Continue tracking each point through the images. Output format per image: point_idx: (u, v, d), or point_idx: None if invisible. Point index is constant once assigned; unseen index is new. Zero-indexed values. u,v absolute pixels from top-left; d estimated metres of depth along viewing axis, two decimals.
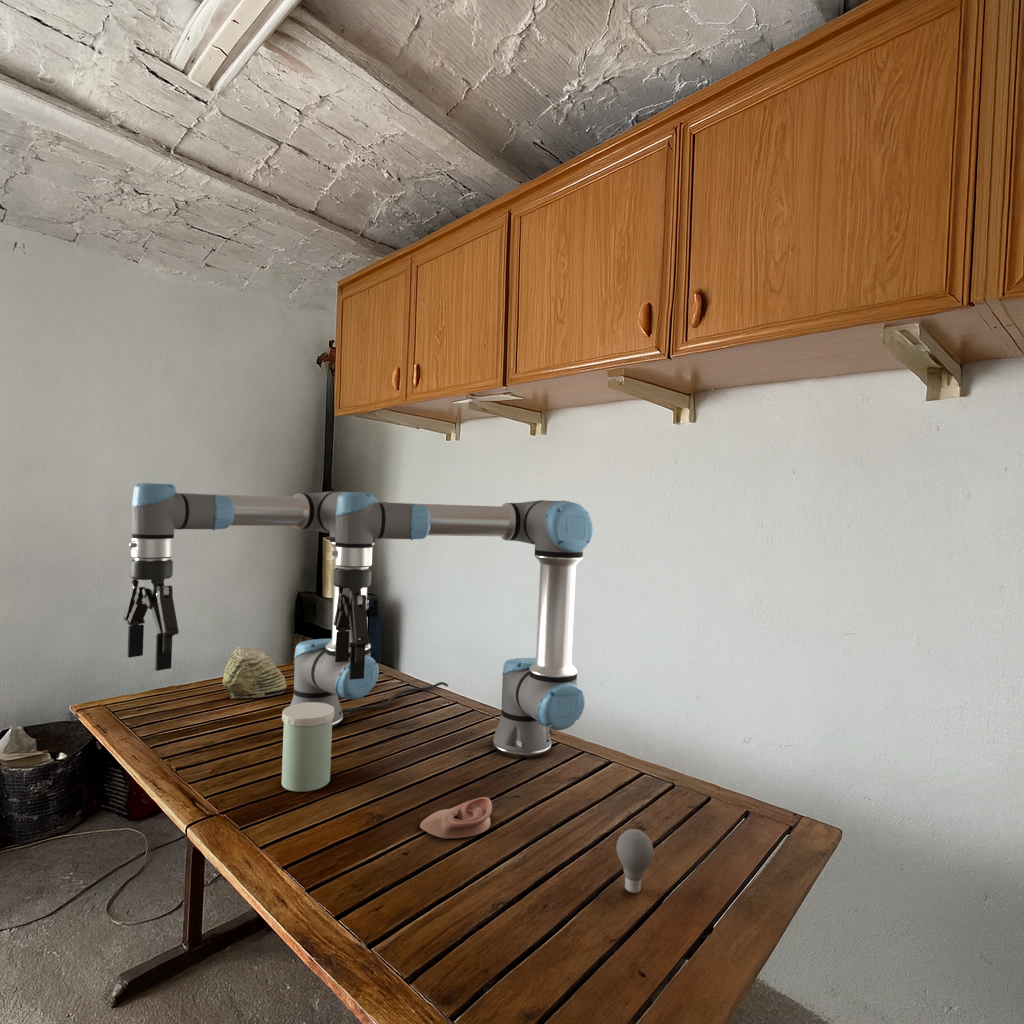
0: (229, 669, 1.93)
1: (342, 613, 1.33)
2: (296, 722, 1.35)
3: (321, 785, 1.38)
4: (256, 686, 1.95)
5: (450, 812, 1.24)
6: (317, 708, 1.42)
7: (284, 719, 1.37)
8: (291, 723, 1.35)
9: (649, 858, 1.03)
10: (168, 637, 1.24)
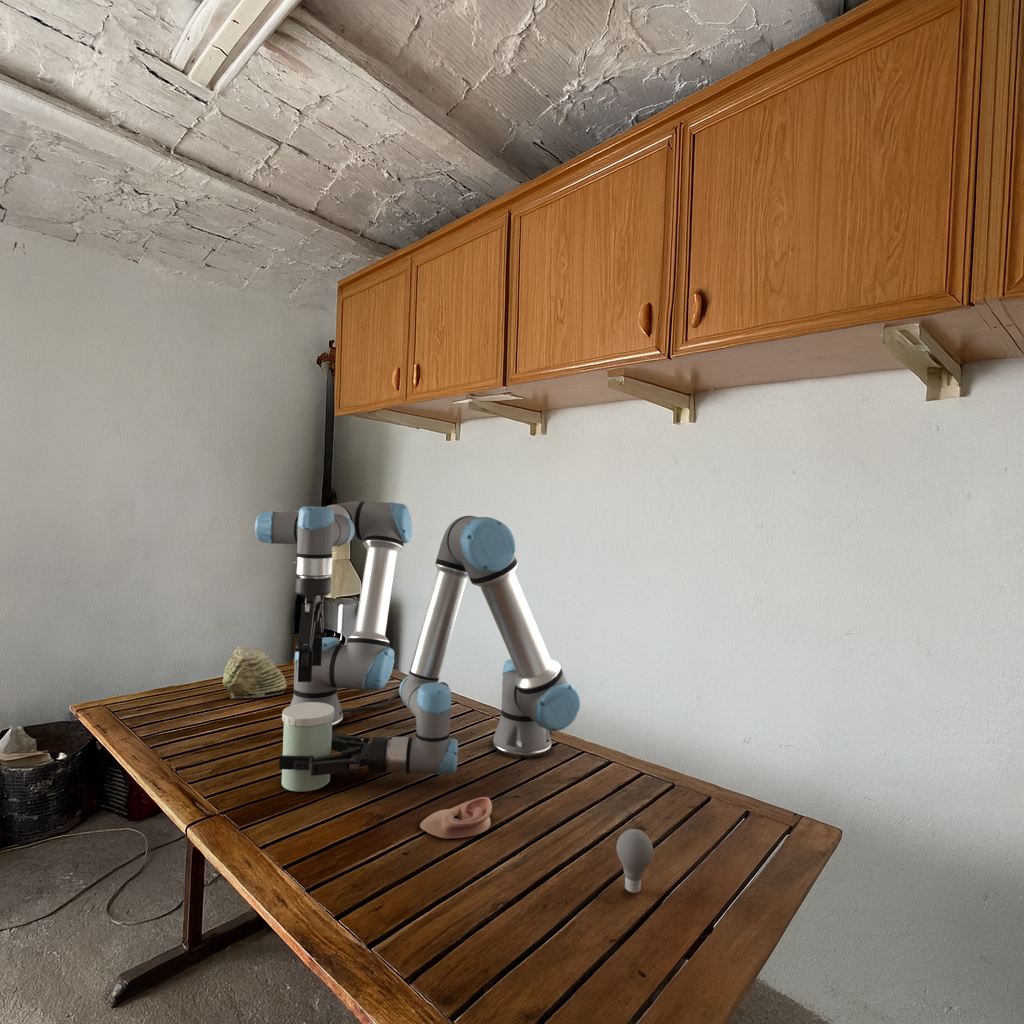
0: (229, 669, 1.93)
1: None
2: (296, 722, 1.35)
3: (321, 785, 1.38)
4: (256, 686, 1.95)
5: (450, 812, 1.24)
6: (317, 708, 1.42)
7: (284, 719, 1.37)
8: (291, 723, 1.35)
9: (649, 858, 1.03)
10: (304, 652, 1.32)
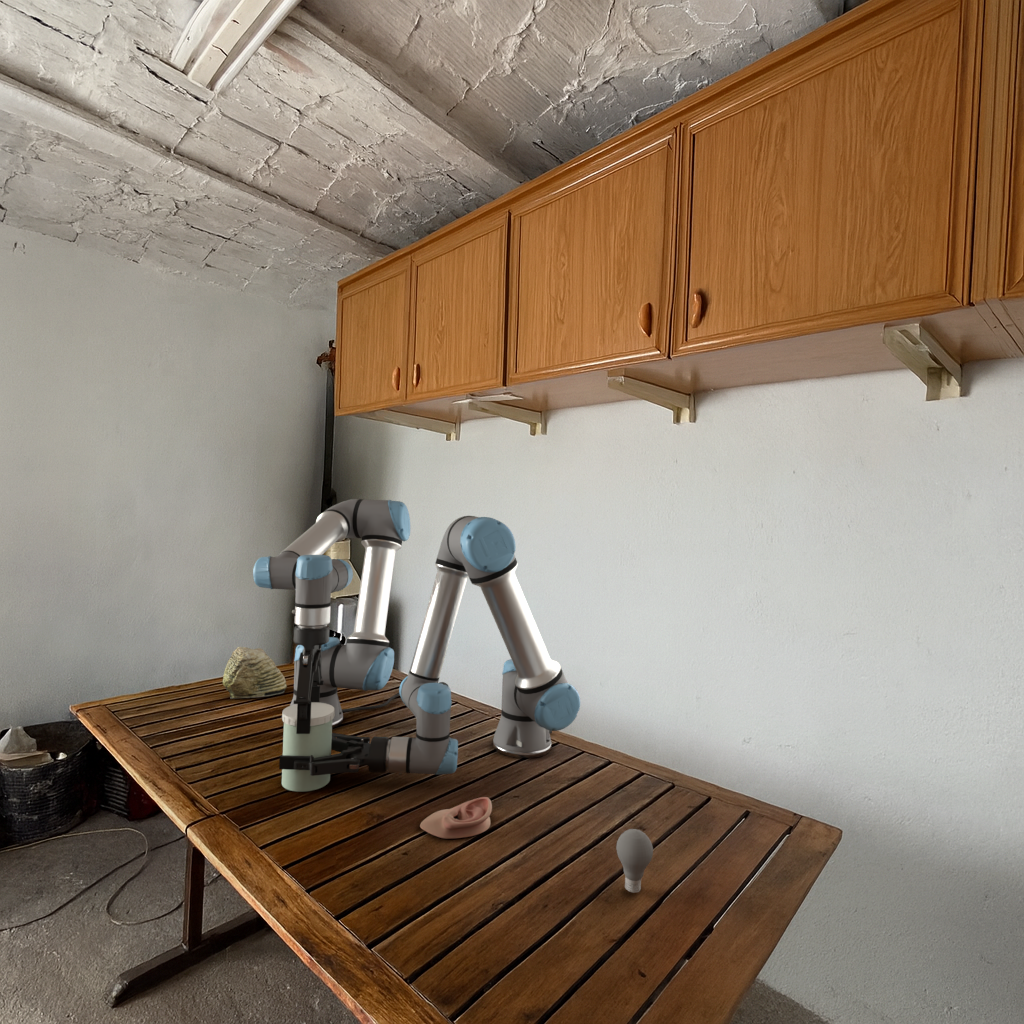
0: (229, 669, 1.93)
1: None
2: (296, 722, 1.35)
3: (321, 785, 1.38)
4: (256, 686, 1.95)
5: (450, 812, 1.24)
6: (317, 708, 1.42)
7: (284, 719, 1.37)
8: (291, 723, 1.35)
9: (649, 858, 1.03)
10: (303, 705, 1.33)
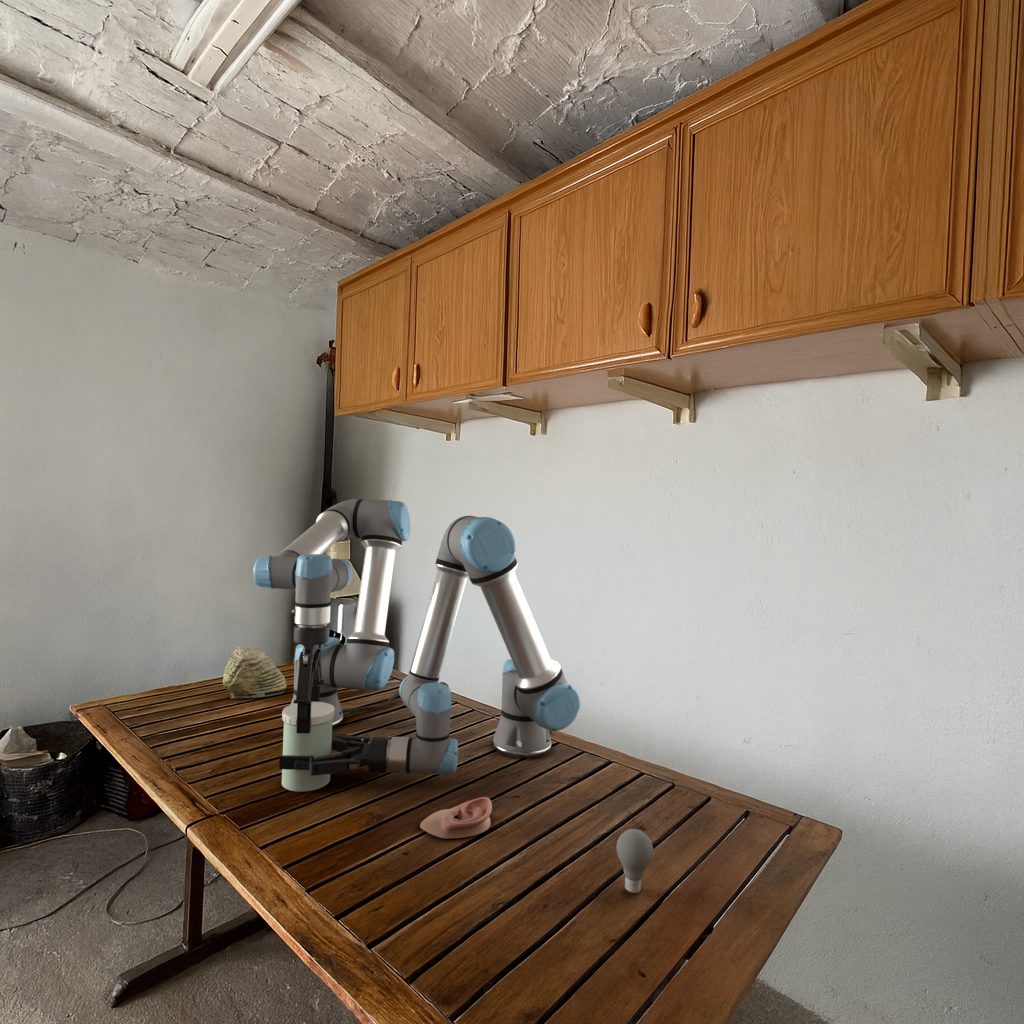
0: (229, 669, 1.93)
1: None
2: (332, 715, 1.40)
3: (321, 785, 1.38)
4: (256, 686, 1.95)
5: (450, 812, 1.24)
6: None
7: (319, 720, 1.36)
8: (328, 719, 1.38)
9: (649, 858, 1.03)
10: (303, 704, 1.33)
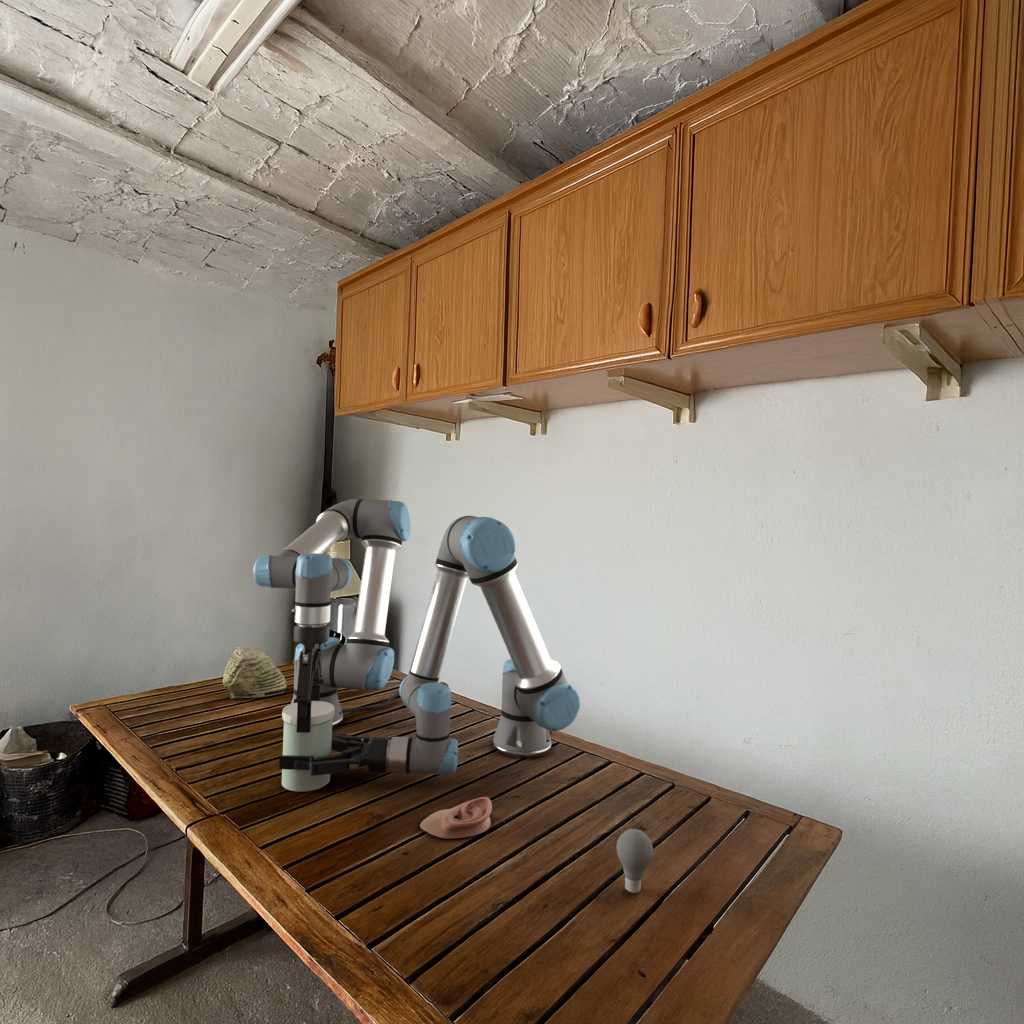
0: (229, 669, 1.93)
1: None
2: None
3: (321, 785, 1.38)
4: (256, 686, 1.95)
5: (450, 812, 1.24)
6: None
7: None
8: None
9: (649, 858, 1.03)
10: (303, 703, 1.33)
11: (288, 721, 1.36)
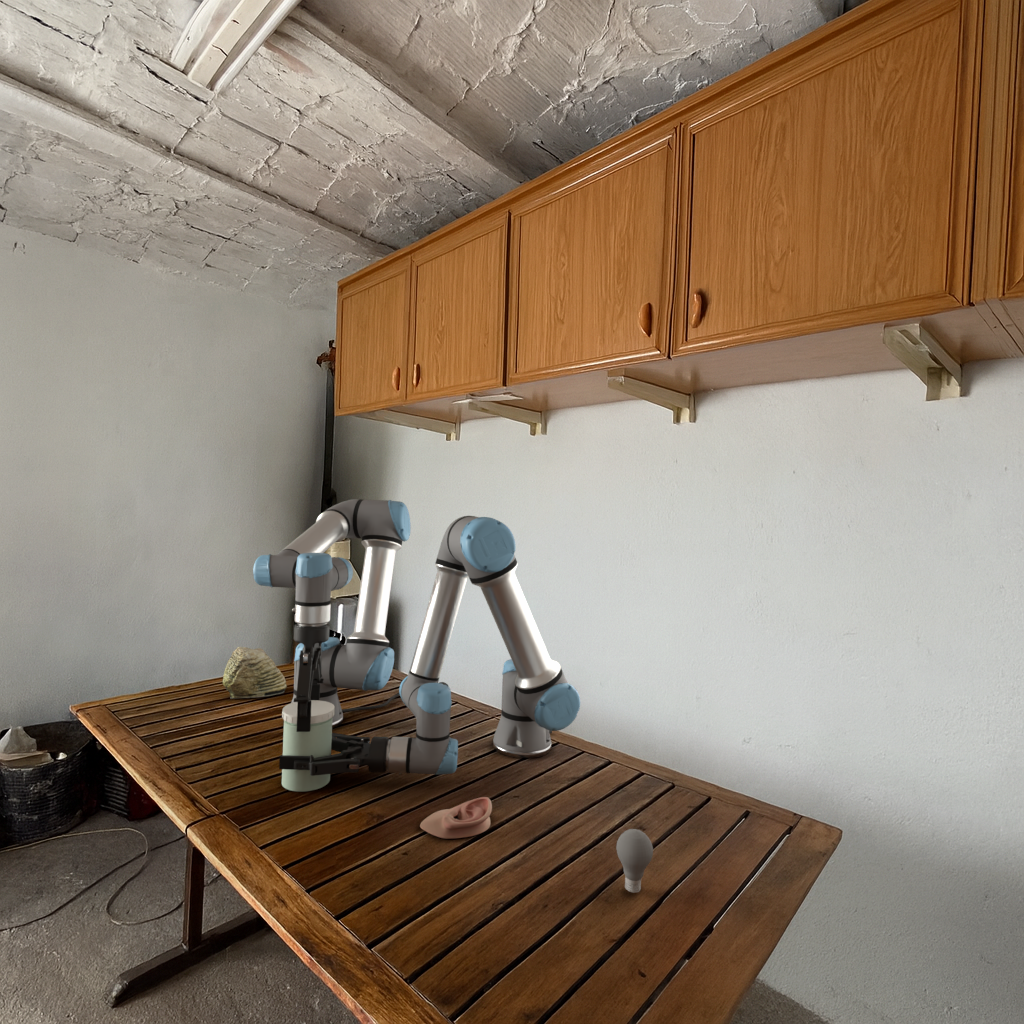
0: (229, 669, 1.93)
1: None
2: None
3: (321, 785, 1.38)
4: (256, 686, 1.95)
5: (450, 812, 1.24)
6: (312, 710, 1.39)
7: None
8: None
9: (649, 858, 1.03)
10: (303, 703, 1.33)
11: (325, 719, 1.38)
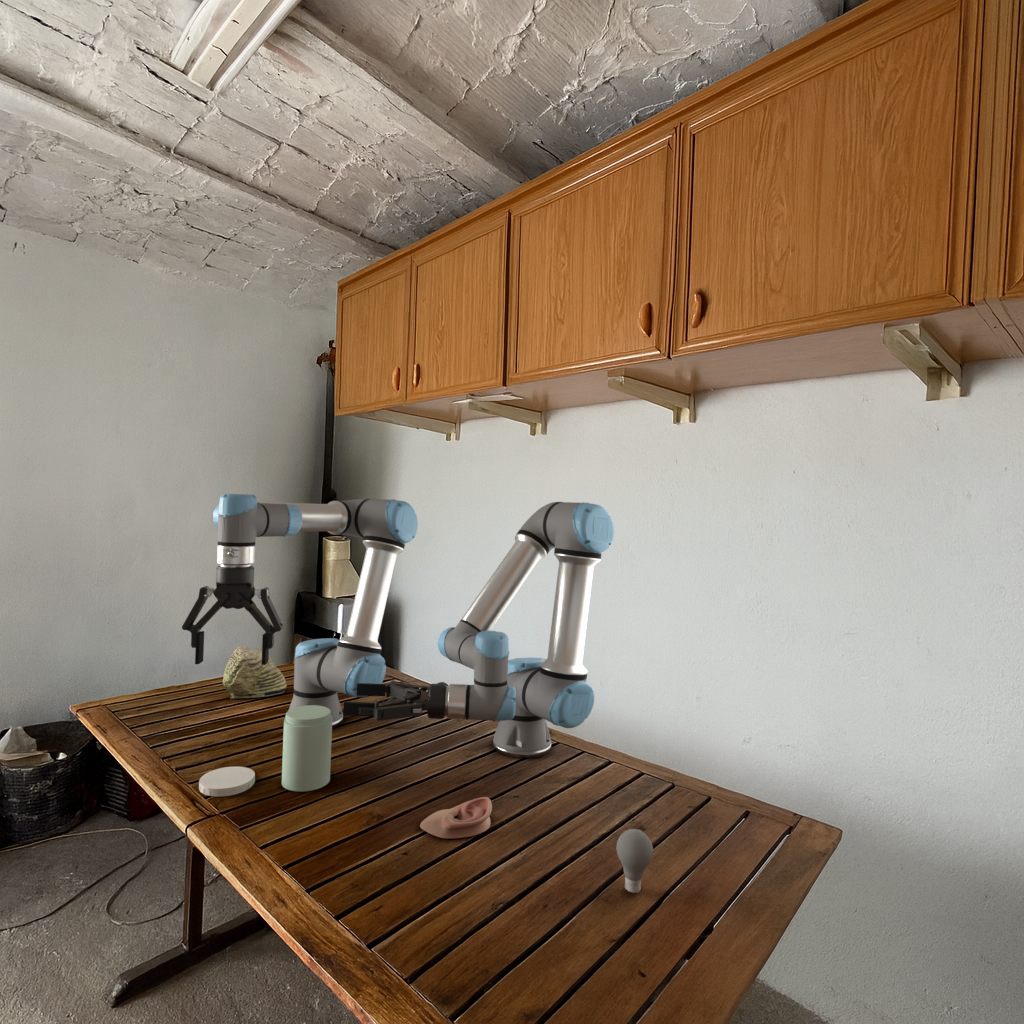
0: (229, 669, 1.93)
1: None
2: (249, 784, 1.36)
3: (321, 785, 1.38)
4: (256, 686, 1.95)
5: (450, 812, 1.24)
6: (225, 773, 1.39)
7: (234, 791, 1.33)
8: (245, 789, 1.35)
9: (649, 858, 1.03)
10: None
11: None
